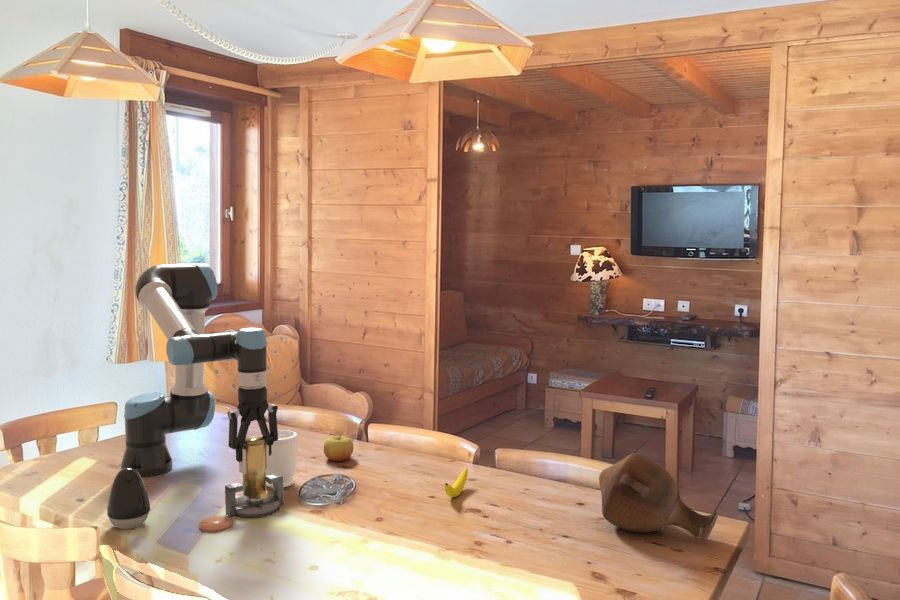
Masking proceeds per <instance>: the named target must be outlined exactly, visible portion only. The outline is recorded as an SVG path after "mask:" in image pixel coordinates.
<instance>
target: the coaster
mask: <svg viewBox="0 0 900 600" xmlns="http://www.w3.org/2000/svg"><path fill="white" fill-rule="evenodd" d="M232 525H233V522H232V518H230V517H229V516H227V515H225V516H224V515H214V516H208V517H206V518H204V519H201V520H200V521H199V523H198V528H199V529H200V530H201V531H202V532H207V533H213V532H214V533H215V532H222V531H225V530H227V529H229V528H231V526H232Z"/></svg>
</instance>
